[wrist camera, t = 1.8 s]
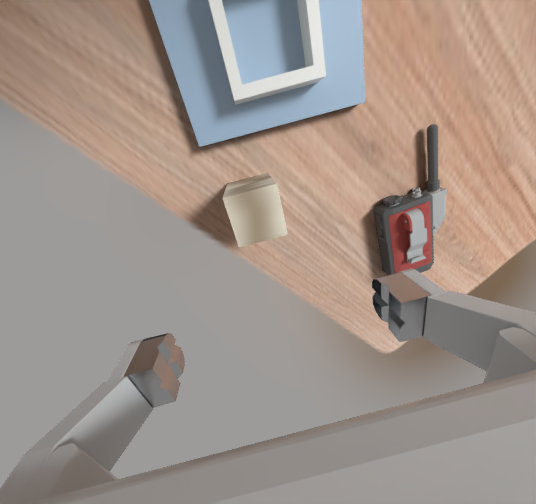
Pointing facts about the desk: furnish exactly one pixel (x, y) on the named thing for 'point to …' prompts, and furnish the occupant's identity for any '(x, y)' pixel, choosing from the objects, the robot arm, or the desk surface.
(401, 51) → the desk surface
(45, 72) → the desk surface
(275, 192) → the block
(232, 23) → the base plate
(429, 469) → the robot arm
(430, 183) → the walkie-talkie
